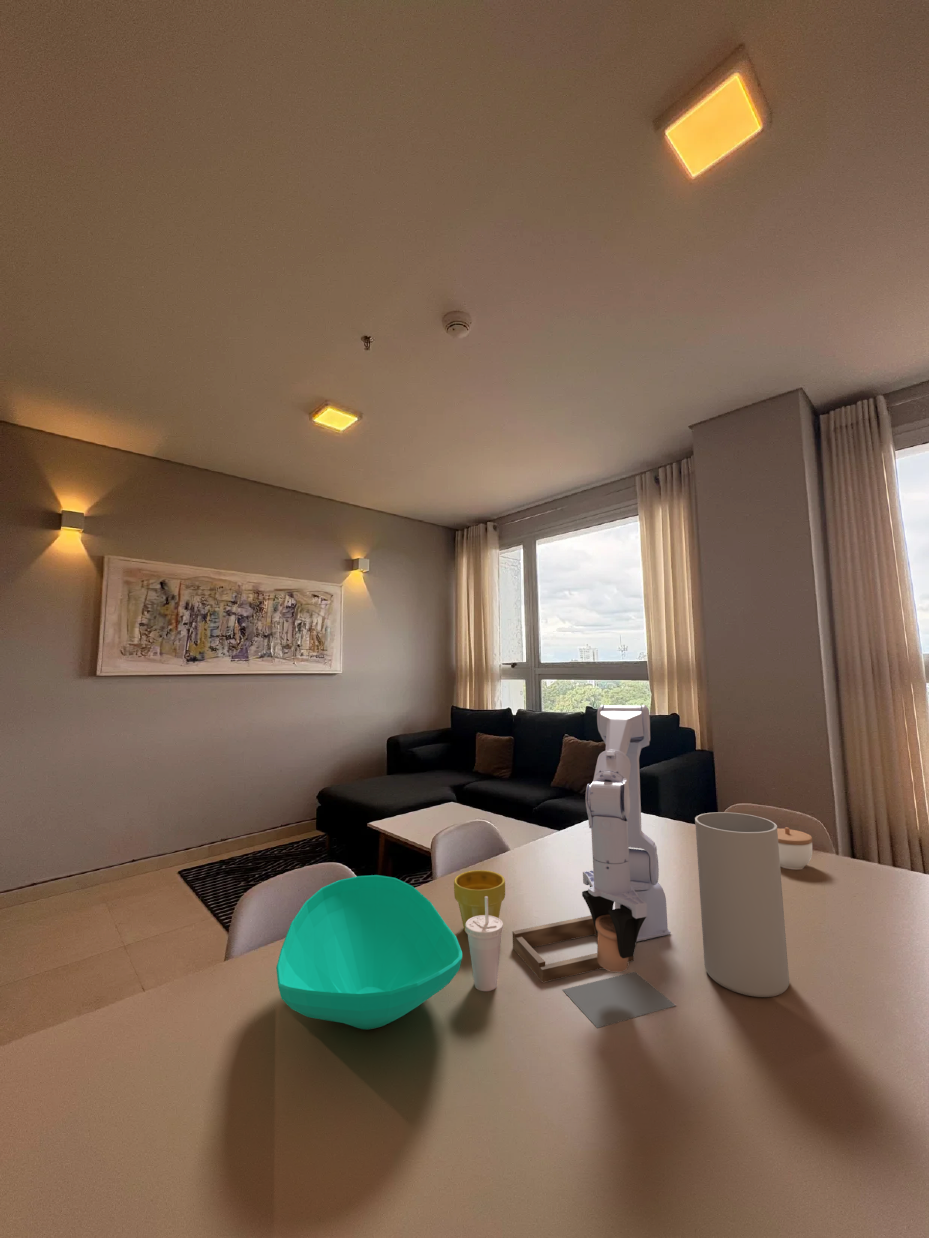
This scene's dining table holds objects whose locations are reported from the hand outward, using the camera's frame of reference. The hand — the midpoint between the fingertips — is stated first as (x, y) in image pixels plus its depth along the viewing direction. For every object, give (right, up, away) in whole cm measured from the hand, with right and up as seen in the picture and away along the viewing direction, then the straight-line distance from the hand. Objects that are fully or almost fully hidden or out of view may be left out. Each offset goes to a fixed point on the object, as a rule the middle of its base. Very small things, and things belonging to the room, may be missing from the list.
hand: (615, 946), depth 85 cm
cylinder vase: (+23, -8, +4) cm, 24 cm away
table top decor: (-38, -9, -3) cm, 39 cm away
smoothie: (-20, -9, +4) cm, 22 cm away
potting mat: (0, -8, -1) cm, 8 cm away
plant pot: (-21, -11, +23) cm, 32 cm away
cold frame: (-4, -9, +12) cm, 16 cm away
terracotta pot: (0, -3, 0) cm, 3 cm away
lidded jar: (+60, -12, +53) cm, 81 cm away
